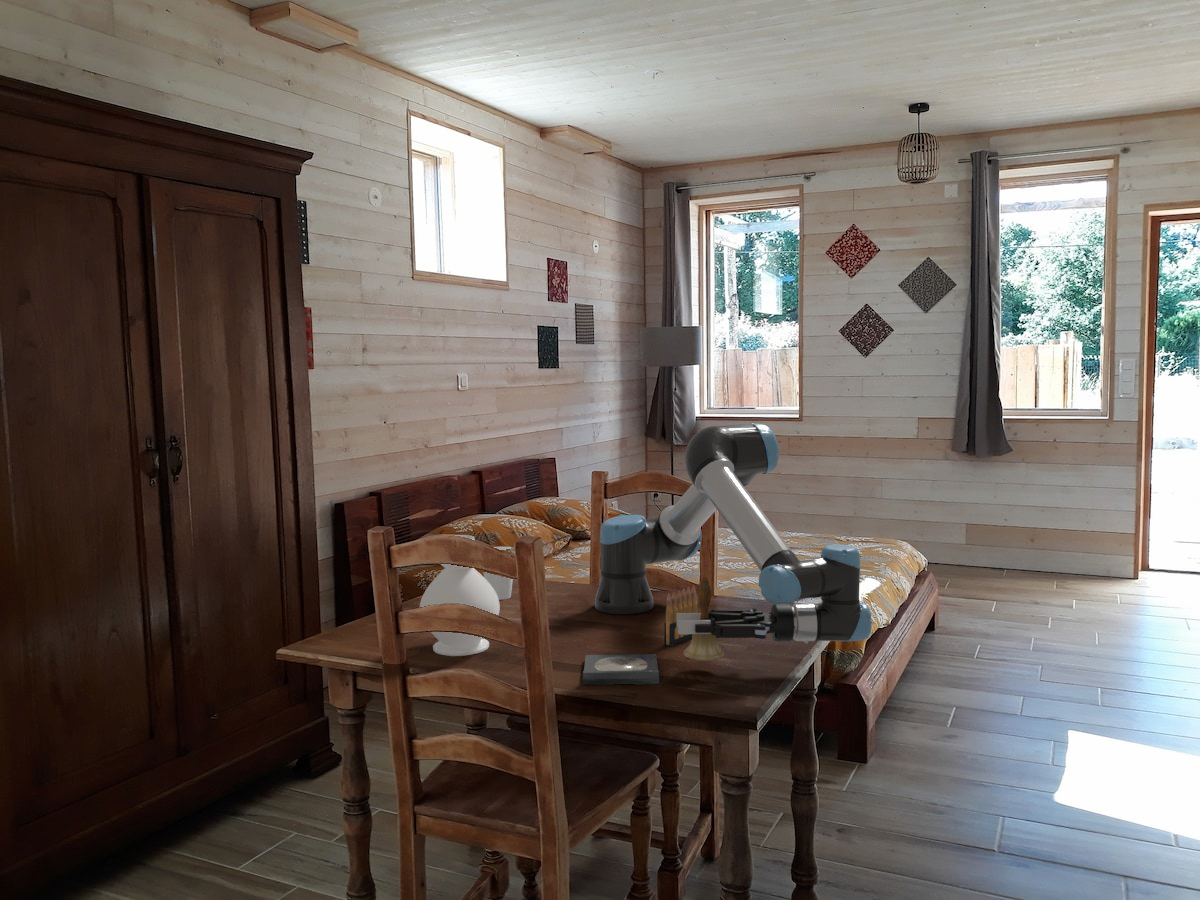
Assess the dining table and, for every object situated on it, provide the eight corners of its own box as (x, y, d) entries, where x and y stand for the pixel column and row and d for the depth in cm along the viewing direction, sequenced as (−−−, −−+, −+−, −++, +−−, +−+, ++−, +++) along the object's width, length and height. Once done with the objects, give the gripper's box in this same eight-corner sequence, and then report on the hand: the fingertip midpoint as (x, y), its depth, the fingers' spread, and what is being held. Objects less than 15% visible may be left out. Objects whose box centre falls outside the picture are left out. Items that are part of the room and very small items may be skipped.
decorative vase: (433, 664, 198) (428, 549, 195) (412, 642, 214) (408, 535, 211) (511, 652, 205) (508, 540, 203) (486, 631, 221) (483, 528, 219)
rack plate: (585, 660, 199) (585, 649, 198) (655, 659, 198) (655, 648, 198) (583, 685, 184) (582, 672, 183) (659, 684, 183) (658, 671, 183)
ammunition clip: (670, 646, 207) (669, 594, 206) (663, 645, 208) (663, 592, 207) (699, 635, 215) (699, 584, 214) (693, 634, 216) (692, 583, 215)
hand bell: (726, 649, 193) (726, 574, 192) (722, 662, 185) (722, 584, 183) (686, 647, 195) (686, 572, 193) (680, 660, 187) (680, 582, 185)
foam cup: (475, 597, 254) (473, 550, 252) (502, 591, 260) (501, 545, 259) (495, 603, 247) (494, 555, 245) (523, 597, 253) (522, 550, 252)
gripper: (800, 654, 181) (680, 655, 181) (784, 627, 198) (674, 628, 199) (800, 616, 180) (680, 617, 181) (784, 593, 197) (674, 594, 198)
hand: (677, 623), depth 190 cm, fingers closed on hand bell, 4 cm apart
